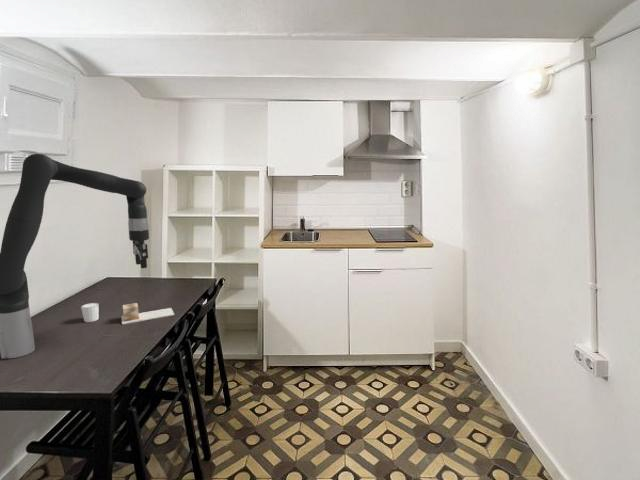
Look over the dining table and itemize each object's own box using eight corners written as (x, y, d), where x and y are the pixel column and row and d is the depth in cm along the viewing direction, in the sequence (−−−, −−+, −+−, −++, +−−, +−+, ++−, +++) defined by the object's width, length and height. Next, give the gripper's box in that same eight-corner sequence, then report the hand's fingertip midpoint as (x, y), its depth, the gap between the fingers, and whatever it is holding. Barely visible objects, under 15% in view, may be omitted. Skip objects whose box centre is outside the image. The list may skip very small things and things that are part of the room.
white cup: (94, 322, 159) (92, 308, 158) (79, 322, 159) (77, 307, 158) (103, 316, 166) (101, 302, 165) (89, 316, 166) (87, 302, 165)
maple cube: (124, 321, 159) (123, 309, 158) (123, 317, 164) (122, 305, 163) (139, 319, 162) (138, 306, 161) (138, 314, 167) (137, 302, 166)
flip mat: (122, 324, 157) (122, 323, 157) (121, 317, 165) (121, 316, 165) (174, 315, 168) (174, 314, 168) (171, 308, 176) (171, 307, 176)
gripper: (124, 227, 150) (127, 264, 153) (133, 231, 140) (135, 270, 142) (143, 226, 155) (146, 262, 158) (153, 229, 145) (155, 268, 147)
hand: (141, 266), depth 150 cm, fingers open, 8 cm apart
